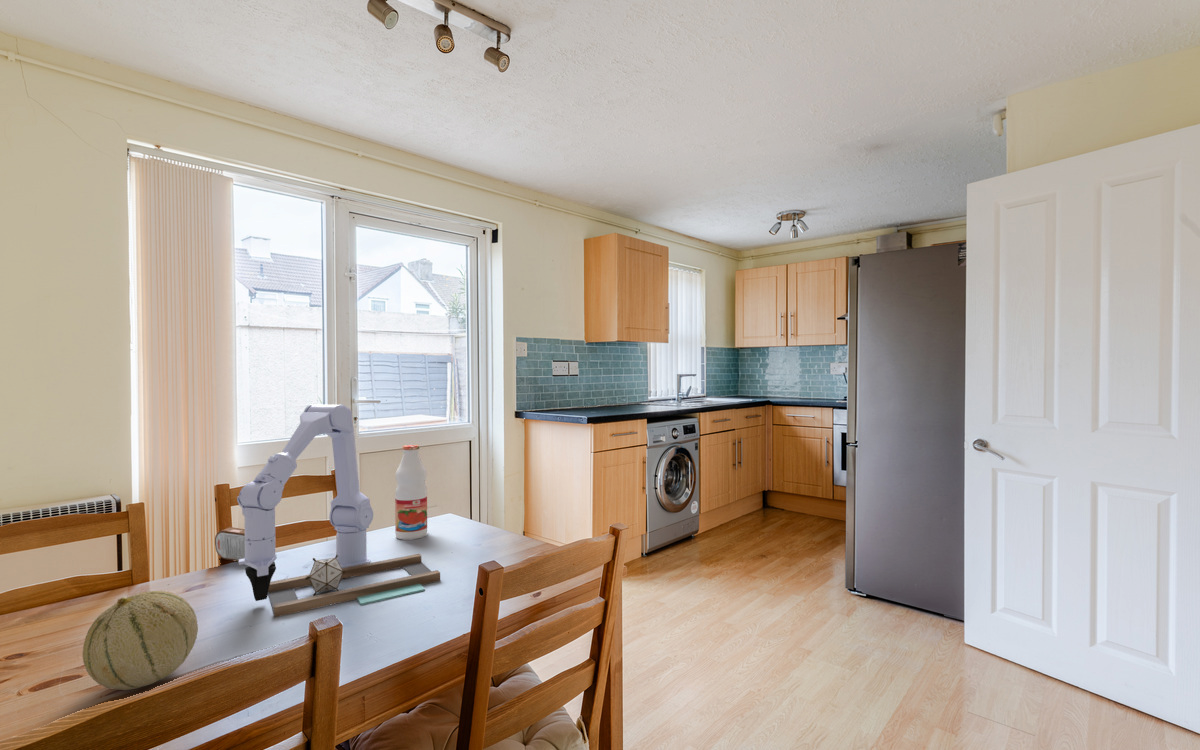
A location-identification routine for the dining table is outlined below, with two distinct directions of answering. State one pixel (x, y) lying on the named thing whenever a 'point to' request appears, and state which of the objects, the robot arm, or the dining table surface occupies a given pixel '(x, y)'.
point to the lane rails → (354, 592)
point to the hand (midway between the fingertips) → (260, 599)
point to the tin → (231, 543)
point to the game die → (325, 575)
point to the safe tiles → (390, 594)
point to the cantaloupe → (140, 640)
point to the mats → (291, 595)
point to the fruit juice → (410, 496)
